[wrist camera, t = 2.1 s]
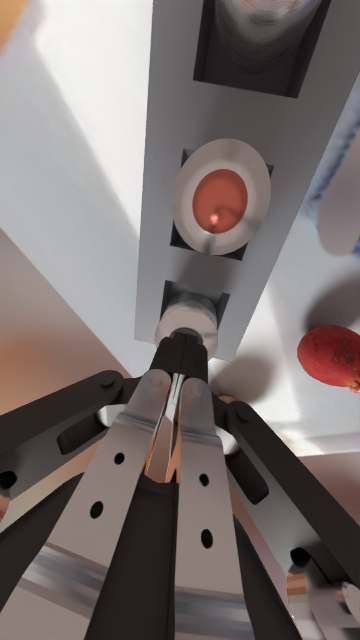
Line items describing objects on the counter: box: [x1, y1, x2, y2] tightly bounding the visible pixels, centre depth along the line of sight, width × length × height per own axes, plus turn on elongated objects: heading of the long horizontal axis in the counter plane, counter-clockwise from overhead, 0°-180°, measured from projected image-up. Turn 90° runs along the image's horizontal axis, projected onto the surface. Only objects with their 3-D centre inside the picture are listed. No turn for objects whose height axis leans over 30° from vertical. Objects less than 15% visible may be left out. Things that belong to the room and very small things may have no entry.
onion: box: [297, 325, 360, 393], centre depth 18 cm, size 6×6×8 cm
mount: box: [134, 0, 360, 362], centre depth 14 cm, size 10×24×6 cm, turn 170°
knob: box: [154, 292, 218, 361], centre depth 14 cm, size 4×4×4 cm
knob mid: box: [172, 138, 271, 255], centre depth 10 cm, size 4×4×4 cm
